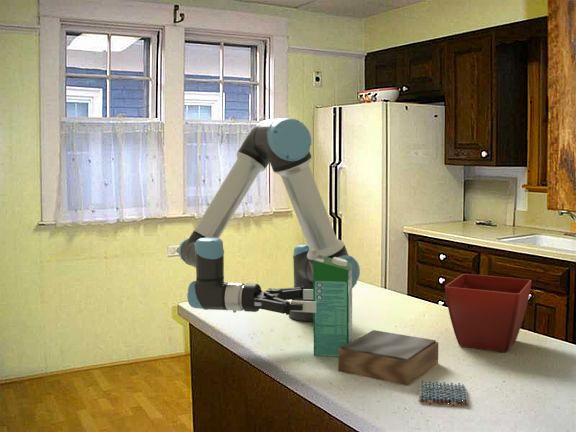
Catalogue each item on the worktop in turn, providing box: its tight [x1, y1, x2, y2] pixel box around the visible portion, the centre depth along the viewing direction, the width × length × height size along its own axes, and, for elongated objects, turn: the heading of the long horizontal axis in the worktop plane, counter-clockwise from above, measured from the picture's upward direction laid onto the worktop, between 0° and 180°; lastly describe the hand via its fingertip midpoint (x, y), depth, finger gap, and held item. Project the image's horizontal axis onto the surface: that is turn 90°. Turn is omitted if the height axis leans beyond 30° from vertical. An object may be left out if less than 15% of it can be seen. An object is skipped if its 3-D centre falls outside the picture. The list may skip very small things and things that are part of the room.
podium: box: [337, 329, 439, 386], centre depth 163 cm, size 18×18×6 cm
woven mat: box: [418, 380, 470, 408], centre depth 144 cm, size 10×11×2 cm
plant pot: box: [444, 273, 532, 353], centre depth 181 cm, size 19×19×17 cm
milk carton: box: [313, 255, 353, 358], centre depth 175 cm, size 9×9×25 cm
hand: (321, 301), depth 175 cm, fingers open, 13 cm apart
